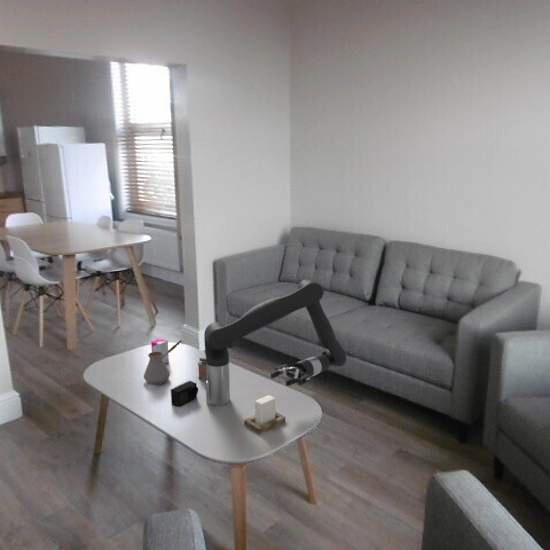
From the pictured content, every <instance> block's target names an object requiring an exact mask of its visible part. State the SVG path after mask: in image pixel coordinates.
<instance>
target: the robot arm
mask: <svg viewBox="0 0 550 550" xmlns="http://www.w3.org/2000/svg"><path fill="white" fill-rule="evenodd" d="M324 292H325V291H324V288H323V286H322V285H321V284H320V283H319V282H317V281H315V280H313V279H302V280H301V281H300V282H299V283H298V285H297V290H295V291H294V292H292V293H290V294H287V295H283V296H278V297H274V298H270V299H267V300H264V301H262V302H261V303H258V304H256V305H254V306H253V307H251V308H250V309H248V311H246V312H245V313H244V314H242V316H241V317H240V318H239V319H237V320H236V321H234V322H231V323H229V324H227V325H224V324H223V323H221V322H219V321H218V322H217V321H216V322H215V321H214V322H211V323H210V324H208V326H206V327H205V330H204V335H203V336H204V355H205V359H206V367H207V381H206V382H205V391H206V392H205V393H206V394H205V395H206V404H207V405H208V404H209V405H211V406H217V407H218V406H221V407H222V406H225V405H227V404H229V403H230V400H231V393H230V392H231V387H230V385H231V384H230V381H231V380H230V354H229V350H228V347H229V346H230V345H232V344H234V343H235V342H237V341H239V340H240V339H242V338H244V337H245V336H248V335H250V334H252V333H254V332H256V331H258V330H261V329H262V328H265V327H267V326H269V325H272V324H273V323H275V322H277V321H278V320H280V319H283V318H284V317H287V316H289V315H290V314H293V313H294V312H296V311H298V310H301V309H304V308H306V311H307V313H308V314H309V315H308V316H309V317H310V320H311V322H312V325H313V328H314V331H315V333H316V336H317V339H318V341H319V344H320V346H321V347H322V348H324V349H326V350H323V351H321V352H320V353H319V354H317V355H315V356H311V357H307V358H305V359H302V360H299V361H297V362H295V363H294V365H293V366H288V364H287V363H285V364H282V365H278V366H275V371H273V372H271V373H270V378H271V379H275V378H278V377H284V378H286V377H287V378H288V379H287V380H285V386H287V387H289V386H292V385H297V384H298V386H302V385H304V384H306V383H308V382H310V381H311V379H310V378H312V377H315V376H317V375H318V374H320V373H323V372H325V371H327V370H328V369H329V368H330V366H331V367H343V366H344V365H345V364H346V362H347V354H346V351H345V350H344V347H343V346H342V345H341V343H340V341H338V339H337V338H336V334H335V332H334V329H333V327H332V324H331V323H330V320H329V318H328V317H327V315H326V313H325V311H324V309H323V307H322V304H321V302H320V301H321V300H322V299H323V297H324V294H325V293H324Z"/></svg>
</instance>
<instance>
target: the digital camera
mask: <svg viewBox="0 0 550 550" xmlns="http://www.w3.org/2000/svg"><path fill="white" fill-rule="evenodd" d="M198 393H199V387H198V386H197V382H194V381H192V380H188V381H185V382H184V383H182V384H179V385H178V386H175V387H173V388H171V389H170V399H171V400H170V401H171V405H172V406H174V407H175V408H178V407H179V408H181V407H183V406H185V405H186V404H190V403H191V402H193V401H194V400H197V398H198Z"/></svg>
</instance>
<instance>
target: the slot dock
mask: <svg viewBox="0 0 550 550" xmlns="http://www.w3.org/2000/svg"><path fill="white" fill-rule="evenodd" d="M285 422H286V416H284V415H282V414H281V413H279V412H277V411H275V419H274V420H272V421H270V422H268V423H266V424H264V425H262V426H259V425H257V424H256V423H255V414H254V415H253V416H250V417H248V418H246V419H244V421H243V423H244V426H246V427H247V428H249V429H250V430H252V431H254V432H255V433H256V434H258V435H262V434H264V433H266V432H268V431H269V430H271V429H274V428H275V427H277V426H279V425H281V424H284V423H285Z"/></svg>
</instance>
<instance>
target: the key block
mask: <svg viewBox="0 0 550 550" xmlns="http://www.w3.org/2000/svg"><path fill="white" fill-rule="evenodd" d="M254 403H255V405H254V409H255V411H254V413H255V414H254V415H255V423H256V424H257V425H259V426H262V425H264V424H266V423H268V422H270V421H272V420H274V419H275V412H276V397H274V396H272V395H270V394H269V395H266V396H263V397H261V398H259V399H256V400H255V401H254Z"/></svg>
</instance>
